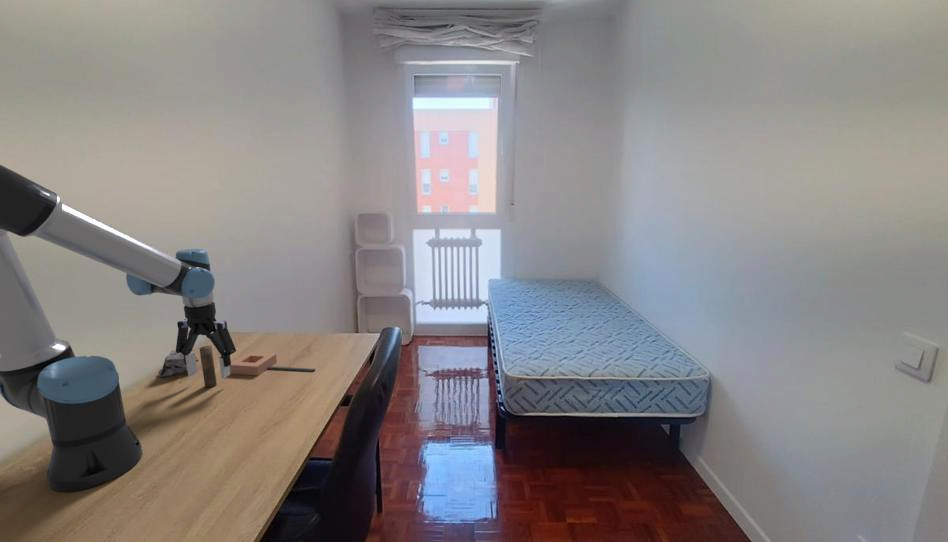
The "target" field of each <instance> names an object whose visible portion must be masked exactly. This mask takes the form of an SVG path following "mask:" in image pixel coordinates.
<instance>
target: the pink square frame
mask: <svg viewBox="0 0 948 542" xmlns="http://www.w3.org/2000/svg"><path fill="white" fill-rule="evenodd" d="M277 359H278V358H277V354H276V353H267V352H250V351H249V352H247V353H245V354H244V355H242V356H240V357H239V358H237V359H235V360H233V361H231V365H230V366H229V367H230V375H246V376H260V375H262V374H263V373H265V371H266V370H268V369H267V367H268V366H272V367H273V366H274V365H275V364H277V362H278V361H277Z"/></svg>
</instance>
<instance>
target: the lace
mask: <svg viewBox="0 0 948 542" xmlns="http://www.w3.org/2000/svg"><path fill="white" fill-rule="evenodd" d="M267 370H278V371H279V370H280V371H297V372H311V373H312V372H313V373H314V372H315V371H316V368H309V367H304V368H303V367H290V366H286V367H285V366H273V365H272V366H268V367H267Z"/></svg>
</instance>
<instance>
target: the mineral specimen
mask: <svg viewBox="0 0 948 542" xmlns="http://www.w3.org/2000/svg"><path fill="white" fill-rule="evenodd" d="M195 359H196V363H197V362H199V360H200V359H199V358H197V356H196V355H195ZM185 371H187V365H185V363H184V356H183V355H182V353H180V352H179V353H177V352H176V350H171V351H170V352H169V354H168V355H167V356H166V357H165V359H164V361H163V366H162V368H161V369H159V370H158V376H159V377H161V378H165V377H171V376H173V375H174V374H175V375H176V374H180V373H181V374H182V373H184V372H185Z"/></svg>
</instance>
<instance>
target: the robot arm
mask: <svg viewBox="0 0 948 542" xmlns="http://www.w3.org/2000/svg"><path fill="white" fill-rule="evenodd" d="M9 232H10V233H12V234H14V235H17V236H19V237H22V238H27V237H31V236H34V237H37V238H39V239H41V240H44V241H46V242H50V243H52V244H53V245H57V246H59V247H62V248H63V249H67V250H69V251H71V252H74V253H76V254H78V255H81V256H83V257H86V258H88V259H91V260H93V261H95V262H98V263H100V264H103V265H106V266H108V267H110V268H113V269H116V270H118V271H120V272H123V273H125V275H126V276H125V278H126V285H127V286H128V289H129V291H130V292H131V293H132V294H134V295H136V296H139V297H140V296H146V295H149V296H150V295H152V294H157V293H160V294H166V295H173V296H178V297H179V296H180V297H181V299H182V304H183V305H184V306H183V311H184V317H185V318H184V319H181V320H179V321H177V322H176V323H177V328H178V329H177V330H178V331H177V337H176V338H177V339H176V347H175V351H176V352H177V353H179V352H180V353H182V355H183V356H184V363H185V365H187V370H186V371H187V375H188V377H192V376H194V375H196V374H198V368H197V362H196V359H195V356H196V352H195V351H194V346H195V343H196V342H197V340H198V337H199V336H200V335H201V336H206V338H207V339H209V340H210V341H211V343H212V344H213V346H214V347H215V349H216V350H217V351H218V353H219V354H220V356H219V357H218V361H219V368H220V374H221V375H220V377H221V379H226V378H227V377H228V376H230V375H231V374H230V367H229V366H230V365H231V363H232V361H231V359H232V358H231V355H233V354H235V353H236V352H237V348H236V347H235V344H234V341H233V339H232V337H231V334H230V331H229V329H228V322H227V321H226V320H222V321H219V320H217V319H216V313H217V309H216V303H215V302H214V300H215V297H214V287H215V285H216V280H215V276H214V274H213V273H212V272H211V263H210V260H209V256H208V255H209V254H208V252H207V250H205V249H202V248H190V249H189V248H188V249H181V250H177V252H176V253H175V257H174V256H172V255H170V254H168V253H167V252H166V253H165V252H163V251H161V250H160V249H157V248H155V247H153V246H152V245H150V244H148V243H145V242H143V241H141V240H140V239H137V238H135V237H134V236H131V235H129V234H127V233H125V232H122V231H121V230H119V229H117V228H114V227H113V226H111V225H108V224H106V223H105V222H102V221H100V220H99V219H97V218H94V217H93V216H90V215H88V214H86V213H84V212H82V211H80V210H79V209H77V208H74V207H72V206H70V205H69V204H66V203H64V202H62V201H61V198H60V196H59V194H58V193H56V192H54V191H52V190H50V189H48V188H46V187H45V186H42V185H40V184H38V183H36V182H35V181H33V180H31V179H29V178H27V177H25V176H23V175H22V174H19V173H18V172H16V171H14V170H12V169H9V168H8V167H5V166H4V165H1V164H0V396H1V397H2V398H3V399H4V401H6V402H7V403H8V404H9V405H10V406H12V407H15V408H17V409H18V410H22V411H26V412H29V413H31V414H33V415H36V416H39V417H41V418H43V419H45V420H46V423H47V428H48V432H49V436H50V439H51V444H52V450H51V455H50V460H49V466H48V470H47V472H46V479H47V482H48V487H49V488H50V489H52V491H57V492H61V493H62V492H63V493H67V492H69V493H71V492H76V491H82V490H86V489H89V488H90V489H91V488H94V487H96V486H100V485H103V484H106V483H107V482H109V481H113V480H114V479H116V478H118V477H120V476H122V475H123V474H125V473H127V472H128V471H130V470H131V469H132V468H134V466H136V465H137V464H138V463H139V462H140V460H141V459H142V456H143V449H142V444H141V441H140V439H138V438H137V436H136V434H135V433H134V432H133V431H132V429H131V428H130V426H129V425H128V423H127V419H126V415H125V408H124V403H123V397H122V391H121V386H120V377H119V373H118V371H117V369H116V365H115V364H114V362H113V361H112V360H111V359H109V358H107V357H105V356H99V355H91V356H86V355H81V356H76V354H75V352H74V351H73V348H72V346H71V345H70V342H69V341H67V340H64V339H61V338H58V337H56V335H55V333H54V329H53V327H52V325H51V323H50V321H49V319H48V317H47V315H46V313H45V311H44V309H43V307H42V305H41V302H40V300H39V298H38V295H37V294H36V292H35V290H34V288H33V286H32V284H31V281H30V280H29V277H28V275H27V273H26V271H25V268H24V267H23V264H22V262H21V260H20V257H19V256H18V254H17V252H16V249H15V248H14V245H13V243H12V240H11V239H10V237H9V235H8V233H9Z"/></svg>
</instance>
